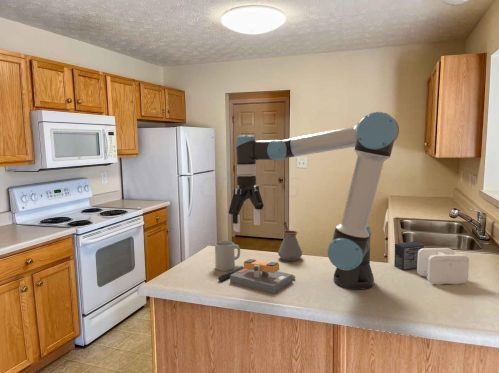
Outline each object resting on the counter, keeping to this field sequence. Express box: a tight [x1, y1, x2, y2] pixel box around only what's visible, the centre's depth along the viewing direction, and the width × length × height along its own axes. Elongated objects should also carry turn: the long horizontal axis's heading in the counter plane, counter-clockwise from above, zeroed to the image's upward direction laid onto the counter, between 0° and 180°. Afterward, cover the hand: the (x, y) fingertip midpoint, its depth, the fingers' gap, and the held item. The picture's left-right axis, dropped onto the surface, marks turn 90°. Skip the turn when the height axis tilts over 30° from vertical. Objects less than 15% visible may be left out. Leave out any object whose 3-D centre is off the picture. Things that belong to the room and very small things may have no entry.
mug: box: [214, 240, 241, 272], centre depth 161 cm, size 12×8×11 cm
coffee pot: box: [277, 220, 303, 262], centre depth 176 cm, size 21×12×15 cm, turn 4°
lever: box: [243, 258, 280, 273], centre depth 142 cm, size 14×4×3 cm, turn 55°
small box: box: [393, 241, 425, 272], centre depth 158 cm, size 11×6×10 cm, turn 106°
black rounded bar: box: [217, 265, 244, 282], centre depth 150 cm, size 2×16×2 cm, turn 145°
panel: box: [229, 260, 293, 295], centre depth 142 cm, size 20×14×8 cm
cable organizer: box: [416, 247, 470, 286], centre depth 142 cm, size 15×11×12 cm
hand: (247, 228), depth 145 cm, fingers open, 13 cm apart
